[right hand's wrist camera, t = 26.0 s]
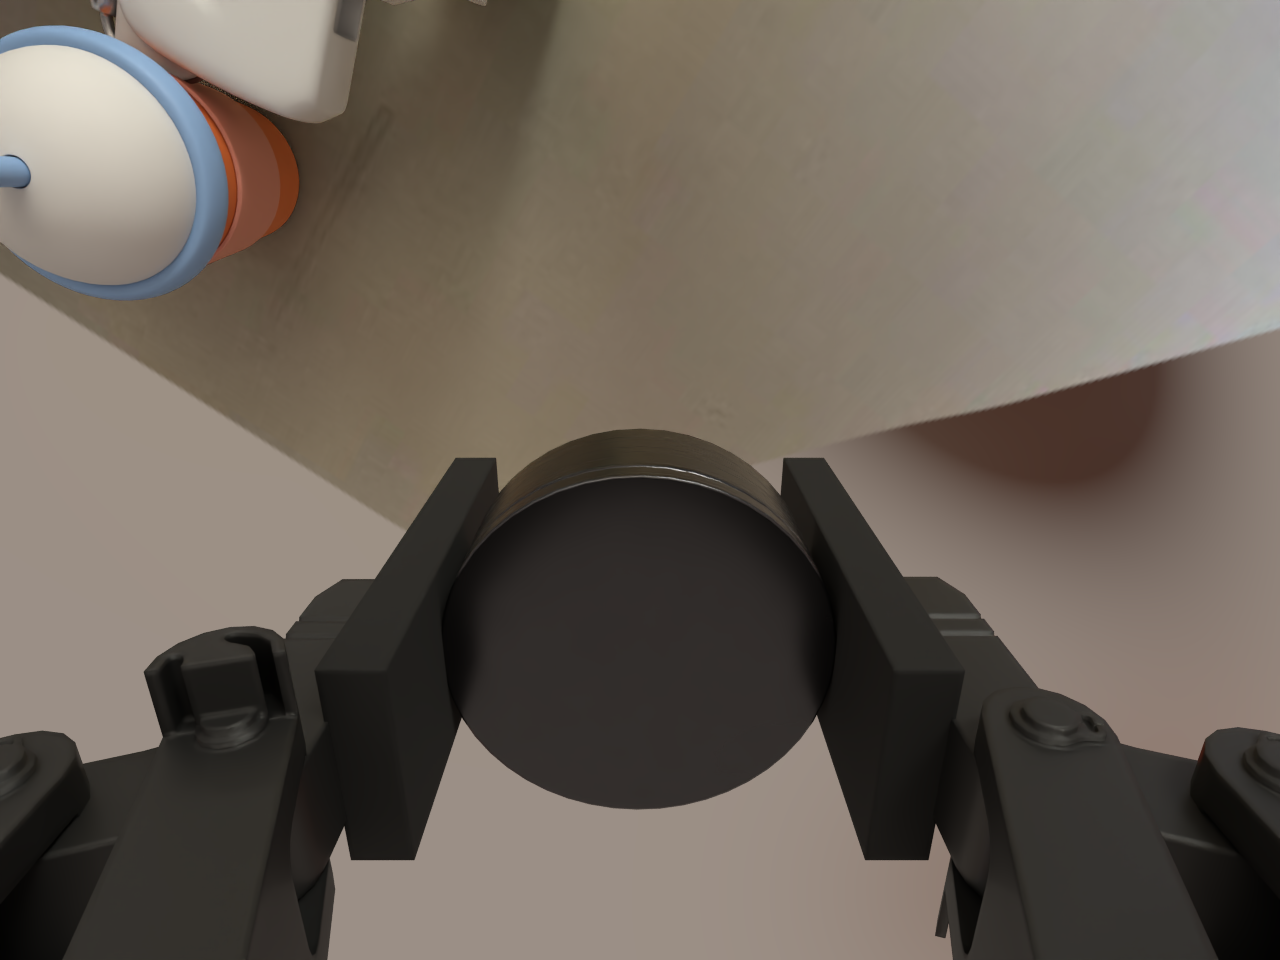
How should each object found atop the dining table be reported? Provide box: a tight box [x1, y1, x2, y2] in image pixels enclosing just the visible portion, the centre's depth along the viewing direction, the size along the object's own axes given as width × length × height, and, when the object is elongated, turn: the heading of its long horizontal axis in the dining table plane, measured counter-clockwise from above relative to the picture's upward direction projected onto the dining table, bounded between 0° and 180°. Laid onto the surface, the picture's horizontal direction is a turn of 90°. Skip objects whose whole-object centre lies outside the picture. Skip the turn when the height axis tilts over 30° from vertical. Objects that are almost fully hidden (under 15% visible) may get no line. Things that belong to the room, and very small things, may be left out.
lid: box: [442, 429, 837, 809], centre depth 11 cm, size 5×5×2 cm
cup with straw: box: [0, 25, 299, 300], centre depth 28 cm, size 9×9×18 cm
